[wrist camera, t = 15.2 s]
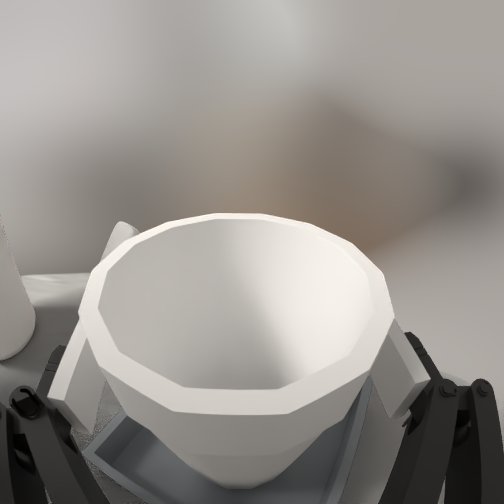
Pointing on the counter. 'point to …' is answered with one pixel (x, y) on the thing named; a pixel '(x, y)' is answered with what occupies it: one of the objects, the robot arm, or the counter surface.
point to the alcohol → (13, 305)
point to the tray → (217, 497)
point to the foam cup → (236, 337)
